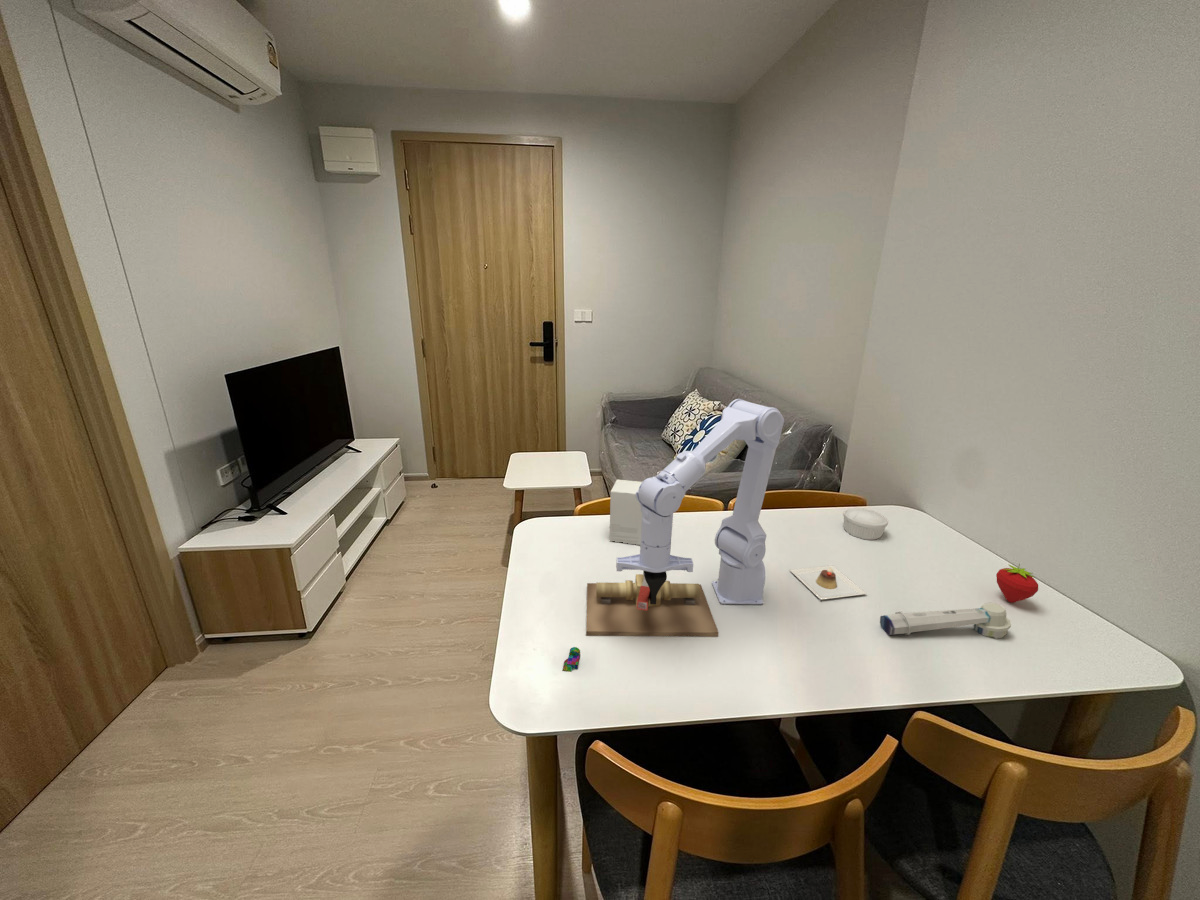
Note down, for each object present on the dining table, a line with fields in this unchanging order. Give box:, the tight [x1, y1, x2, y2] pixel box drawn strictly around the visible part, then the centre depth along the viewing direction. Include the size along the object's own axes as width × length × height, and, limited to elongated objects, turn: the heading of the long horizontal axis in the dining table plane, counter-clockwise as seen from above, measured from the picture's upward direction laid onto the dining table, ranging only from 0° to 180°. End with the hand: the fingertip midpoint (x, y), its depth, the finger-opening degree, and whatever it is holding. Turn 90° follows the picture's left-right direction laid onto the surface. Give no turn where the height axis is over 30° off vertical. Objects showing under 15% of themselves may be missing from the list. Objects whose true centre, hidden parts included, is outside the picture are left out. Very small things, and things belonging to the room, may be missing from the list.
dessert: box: [789, 565, 867, 601], centre depth 111 cm, size 12×12×5 cm
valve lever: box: [637, 570, 650, 611], centre depth 95 cm, size 12×2×2 cm, turn 168°
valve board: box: [585, 573, 720, 638], centre depth 99 cm, size 26×16×6 cm, turn 91°
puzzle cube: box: [561, 646, 581, 673], centre depth 85 cm, size 4×3×2 cm, turn 174°
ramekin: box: [842, 507, 889, 541], centre depth 135 cm, size 11×11×5 cm
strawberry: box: [996, 563, 1039, 604], centre depth 104 cm, size 6×8×10 cm
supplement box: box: [608, 479, 643, 546], centre depth 128 cm, size 9×9×15 cm
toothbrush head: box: [879, 602, 1012, 640], centre depth 95 cm, size 5×7×25 cm
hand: (652, 601), depth 93 cm, fingers closed, pressing on valve lever
